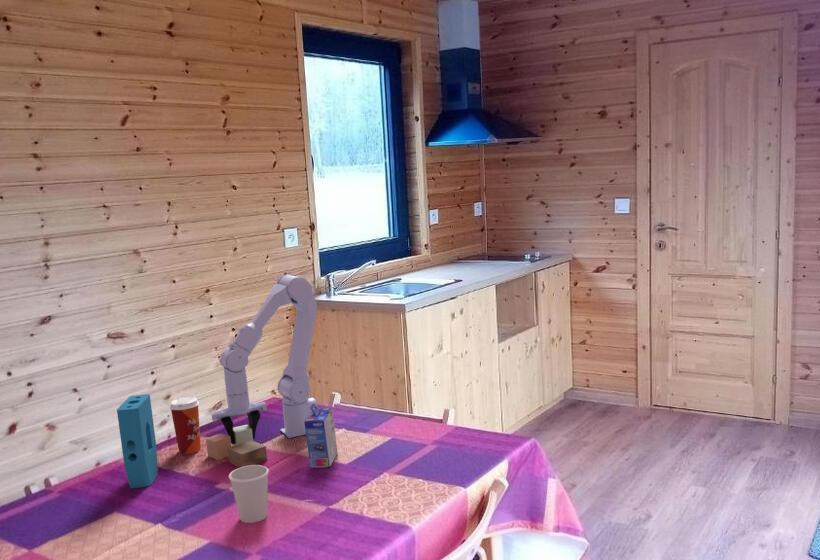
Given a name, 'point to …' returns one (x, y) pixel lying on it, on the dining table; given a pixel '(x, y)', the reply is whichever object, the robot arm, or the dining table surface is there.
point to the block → (138, 440)
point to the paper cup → (186, 424)
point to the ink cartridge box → (320, 437)
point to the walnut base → (247, 454)
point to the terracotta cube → (218, 446)
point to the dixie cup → (250, 492)
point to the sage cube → (242, 434)
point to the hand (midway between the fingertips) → (242, 440)
